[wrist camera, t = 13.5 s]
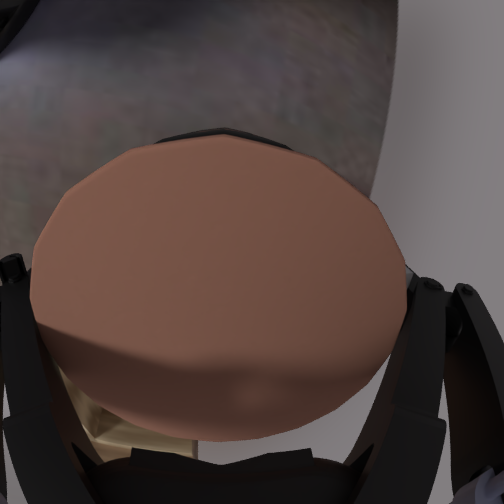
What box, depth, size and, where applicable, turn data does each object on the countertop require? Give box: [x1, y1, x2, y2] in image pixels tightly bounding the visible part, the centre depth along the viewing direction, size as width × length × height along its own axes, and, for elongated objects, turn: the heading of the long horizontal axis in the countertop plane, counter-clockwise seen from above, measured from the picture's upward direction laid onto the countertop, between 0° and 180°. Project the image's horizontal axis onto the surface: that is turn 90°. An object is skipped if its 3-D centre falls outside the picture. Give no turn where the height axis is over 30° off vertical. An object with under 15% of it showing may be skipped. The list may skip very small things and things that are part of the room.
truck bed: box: [58, 366, 198, 462], centre depth 24 cm, size 24×13×14 cm, turn 176°
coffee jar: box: [30, 128, 407, 442], centre depth 14 cm, size 11×11×18 cm
